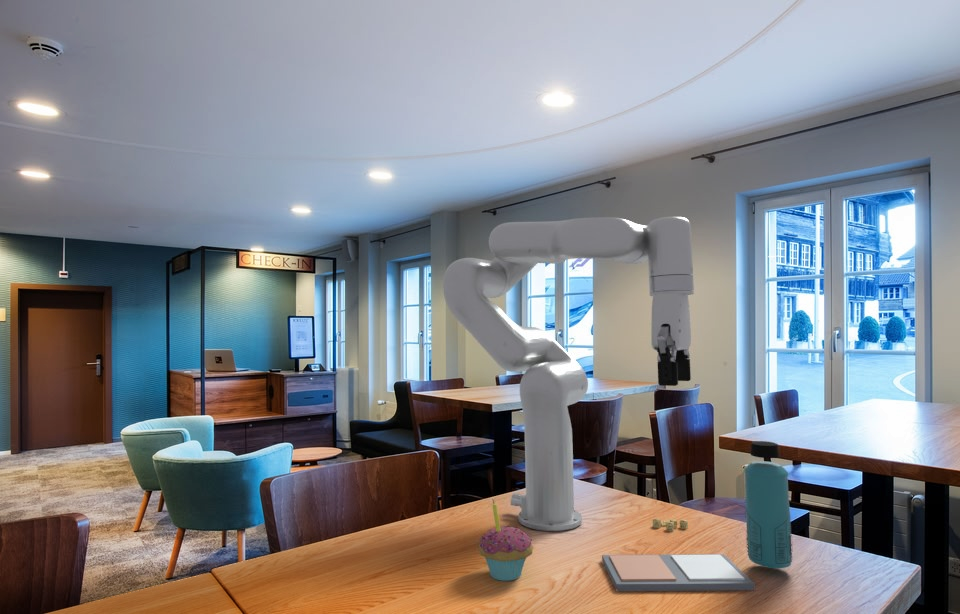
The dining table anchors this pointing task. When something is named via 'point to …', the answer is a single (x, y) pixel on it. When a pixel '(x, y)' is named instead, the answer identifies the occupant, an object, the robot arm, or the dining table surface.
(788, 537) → the beverage bottle
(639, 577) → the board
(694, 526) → the dining table surface
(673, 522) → the dice set
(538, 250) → the robot arm
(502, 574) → the cupcake
